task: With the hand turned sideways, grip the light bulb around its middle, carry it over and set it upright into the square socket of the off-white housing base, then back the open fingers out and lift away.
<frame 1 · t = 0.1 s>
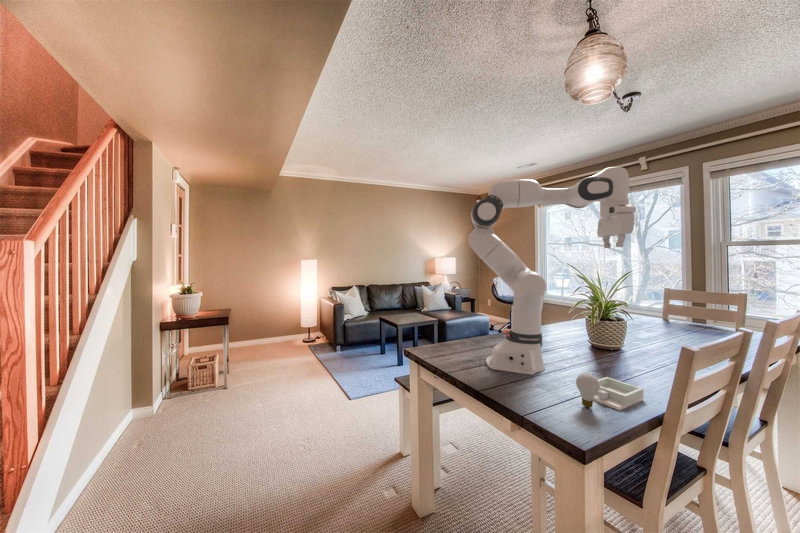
hand: (613, 247, 114), 48 cm above the table, tool pointing down, fingers open, 8 cm apart
housing base: (615, 396, 95), on the table
light bulb: (587, 408, 88), on the table
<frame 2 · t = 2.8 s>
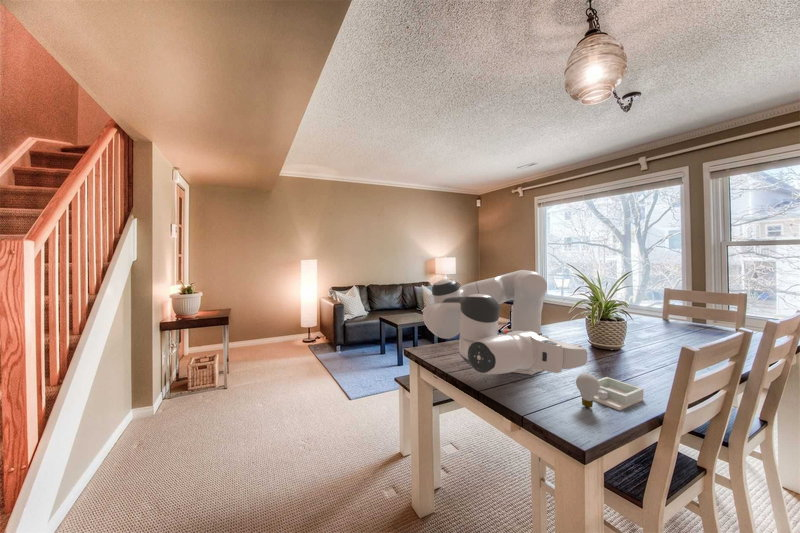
hand: (561, 343, 81), 21 cm above the table, tool horizontal, fingers open, 8 cm apart
nothing on the table moved.
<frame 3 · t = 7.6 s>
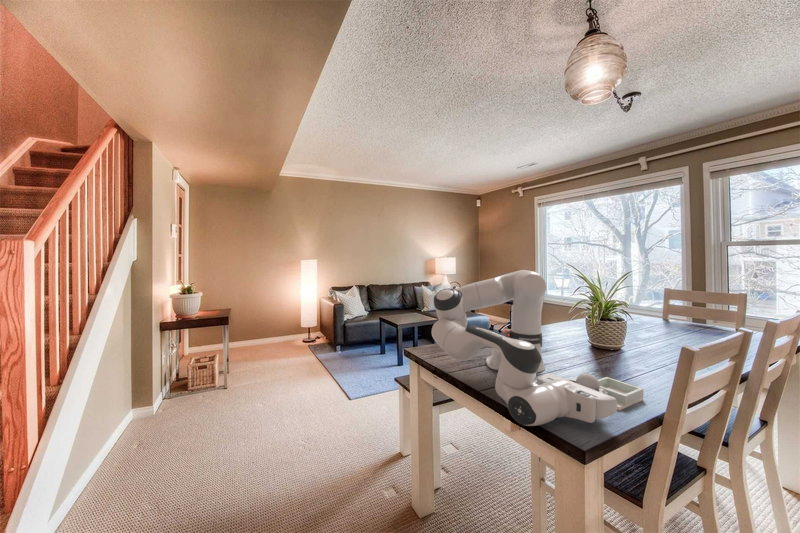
hand: (589, 386, 88), 6 cm above the table, tool horizontal, fingers closed on light bulb, 6 cm apart
light bulb: (587, 408, 88), on the table, touching gripper
when the fingers open (8 cm above the table, at t = 12.8 s): light bulb drops 1 cm, resting on housing base.
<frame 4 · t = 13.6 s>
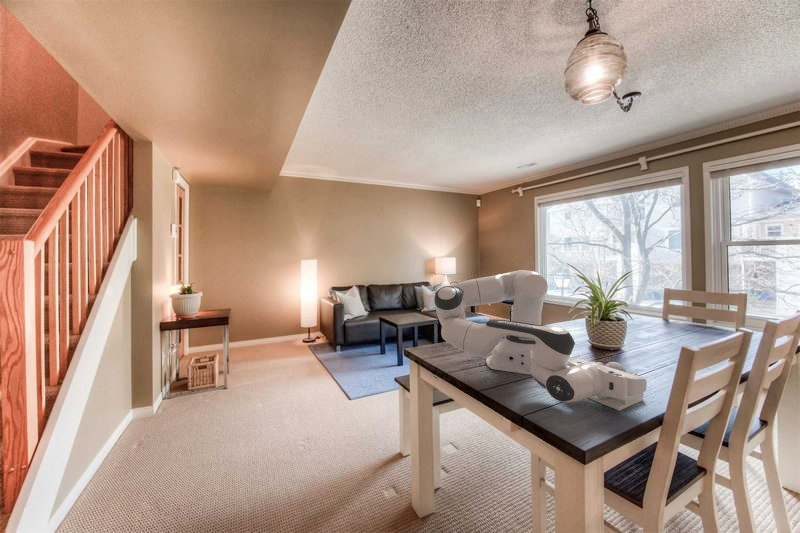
hand: (617, 369, 95), 8 cm above the table, tool horizontal, fingers open, 8 cm apart
light bulb: (615, 394, 95), point 1 cm above the table, touching housing base
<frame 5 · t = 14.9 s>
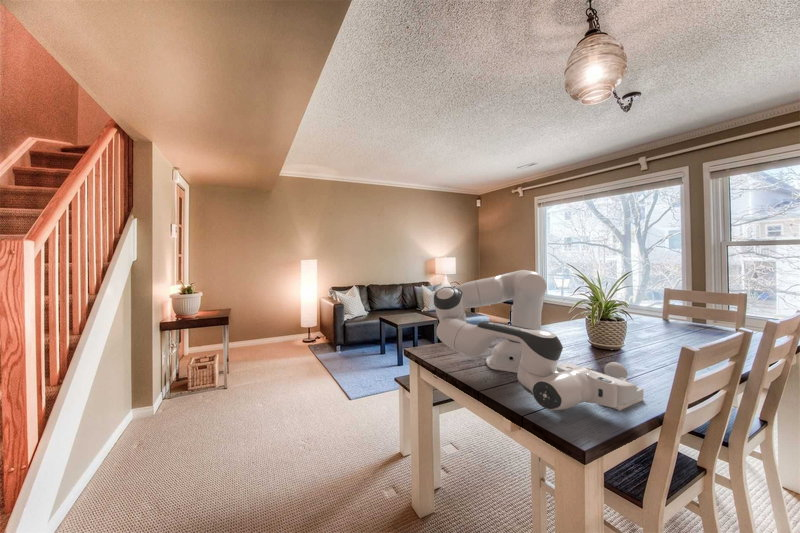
hand: (607, 375, 92), 8 cm above the table, tool horizontal, fingers open, 8 cm apart
nothing on the table moved.
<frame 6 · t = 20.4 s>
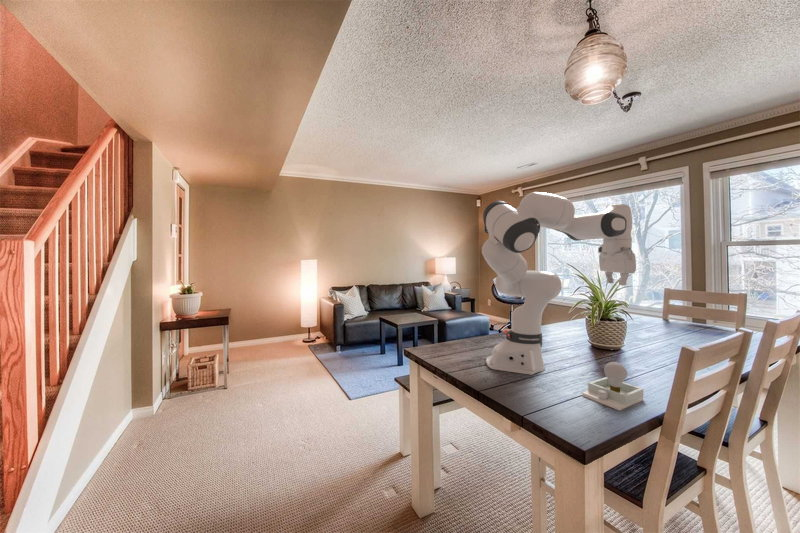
hand: (616, 284, 114), 34 cm above the table, tool pointing down, fingers open, 8 cm apart
nothing on the table moved.
at the end: light bulb 0.1 cm off-centre on the housing base, point 0.8 cm above the housing base's base; light bulb tilted 0°; the gripper is holding nothing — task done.
